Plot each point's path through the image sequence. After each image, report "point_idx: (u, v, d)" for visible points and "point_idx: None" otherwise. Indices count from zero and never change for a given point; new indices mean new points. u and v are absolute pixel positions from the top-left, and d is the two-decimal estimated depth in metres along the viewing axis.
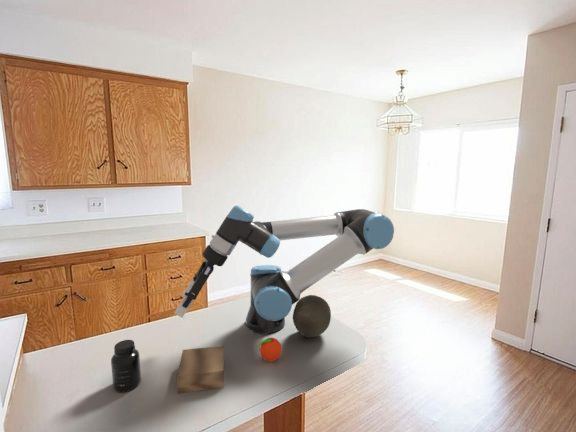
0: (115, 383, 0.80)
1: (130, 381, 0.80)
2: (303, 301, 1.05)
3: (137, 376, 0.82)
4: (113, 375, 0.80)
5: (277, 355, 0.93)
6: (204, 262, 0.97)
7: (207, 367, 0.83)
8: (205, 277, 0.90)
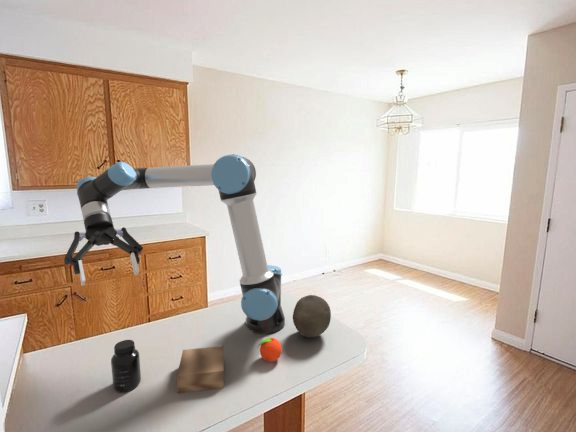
0: (115, 383, 0.80)
1: (130, 381, 0.80)
2: (303, 301, 1.05)
3: (137, 376, 0.82)
4: (113, 375, 0.80)
5: (277, 355, 0.93)
6: None
7: (207, 367, 0.83)
8: None
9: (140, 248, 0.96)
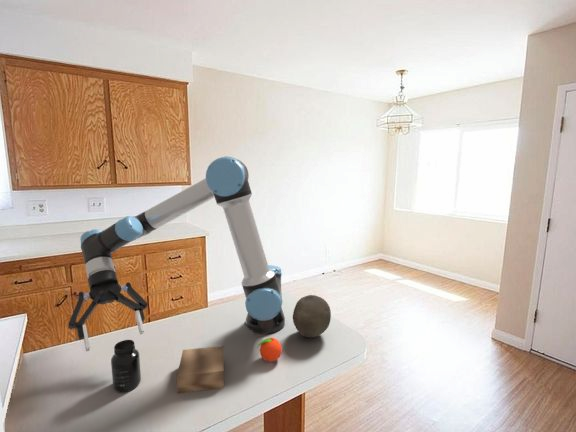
0: (115, 383, 0.80)
1: (130, 381, 0.80)
2: (303, 301, 1.05)
3: (137, 376, 0.82)
4: (113, 375, 0.80)
5: (277, 355, 0.93)
6: None
7: (207, 367, 0.83)
8: (77, 302, 0.86)
9: (145, 304, 0.94)
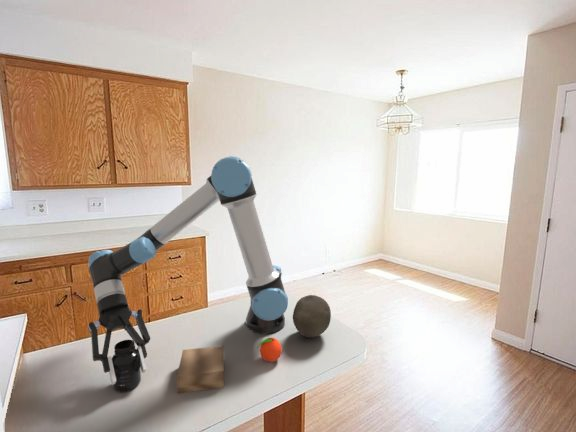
0: (115, 383, 0.80)
1: (130, 381, 0.80)
2: (303, 301, 1.05)
3: (138, 376, 0.82)
4: None
5: (277, 355, 0.93)
6: None
7: (207, 367, 0.83)
8: (91, 333, 0.81)
9: (147, 339, 0.86)
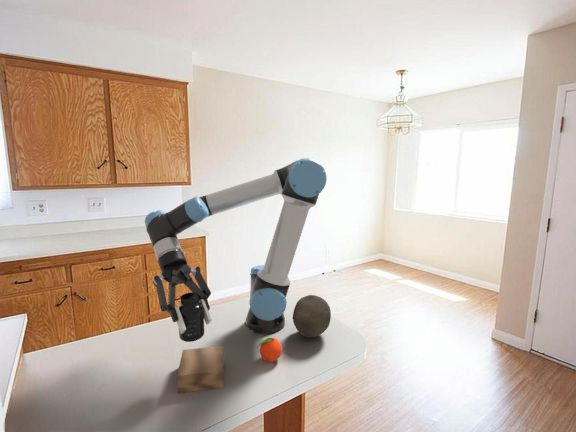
0: (182, 333, 0.82)
1: (197, 331, 0.82)
2: (303, 301, 1.05)
3: (202, 327, 0.84)
4: None
5: (277, 355, 0.93)
6: None
7: (207, 367, 0.83)
8: (157, 285, 0.83)
9: (208, 293, 0.88)
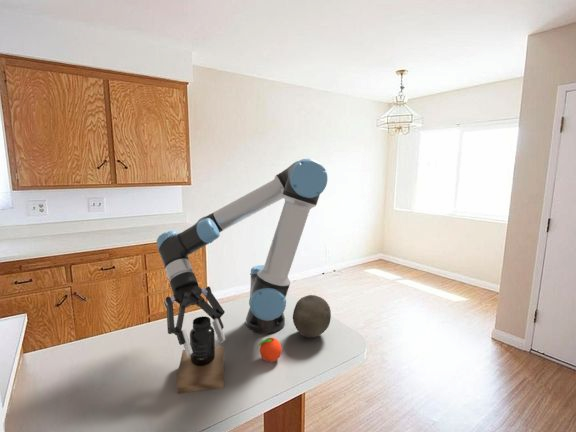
0: (194, 357, 0.83)
1: (208, 355, 0.84)
2: (303, 301, 1.05)
3: (213, 351, 0.86)
4: (192, 349, 0.83)
5: (277, 355, 0.93)
6: None
7: (207, 367, 0.83)
8: (168, 307, 0.85)
9: (222, 312, 0.91)
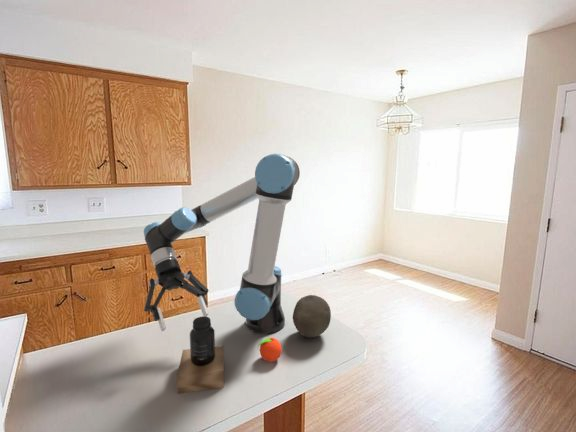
0: (194, 357, 0.83)
1: (208, 355, 0.84)
2: (303, 301, 1.05)
3: (213, 351, 0.86)
4: (192, 349, 0.83)
5: (277, 355, 0.93)
6: None
7: (207, 367, 0.83)
8: (150, 287, 0.94)
9: (206, 290, 1.02)
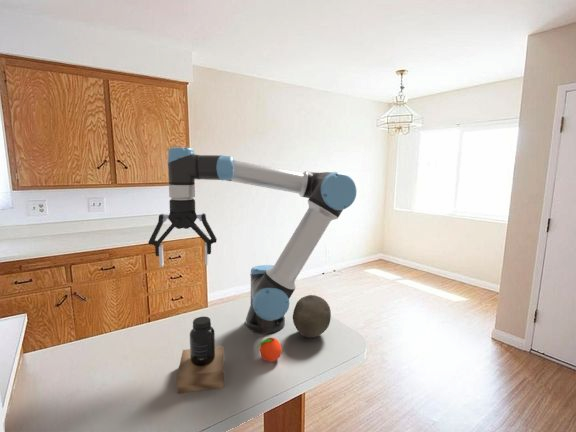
0: (194, 357, 0.83)
1: (208, 355, 0.84)
2: (303, 301, 1.05)
3: (213, 351, 0.86)
4: (192, 349, 0.83)
5: (277, 355, 0.93)
6: None
7: (207, 367, 0.83)
8: (158, 223, 0.92)
9: (214, 241, 0.96)
